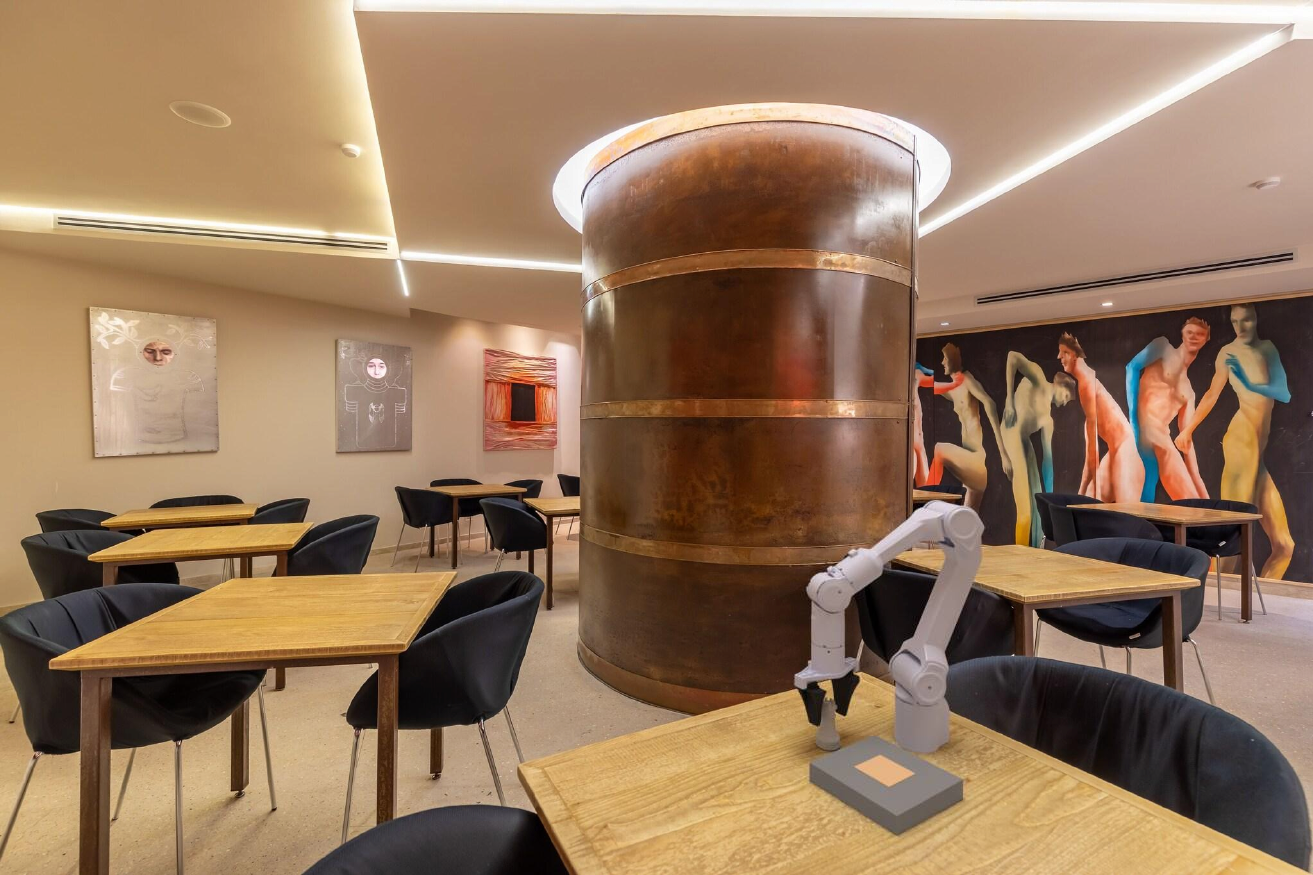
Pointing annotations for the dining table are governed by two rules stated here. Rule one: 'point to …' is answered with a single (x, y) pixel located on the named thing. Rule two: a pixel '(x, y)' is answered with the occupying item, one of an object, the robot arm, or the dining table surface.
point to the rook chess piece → (828, 727)
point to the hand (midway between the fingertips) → (827, 718)
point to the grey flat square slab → (886, 783)
